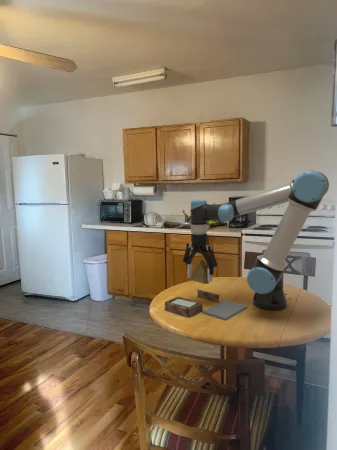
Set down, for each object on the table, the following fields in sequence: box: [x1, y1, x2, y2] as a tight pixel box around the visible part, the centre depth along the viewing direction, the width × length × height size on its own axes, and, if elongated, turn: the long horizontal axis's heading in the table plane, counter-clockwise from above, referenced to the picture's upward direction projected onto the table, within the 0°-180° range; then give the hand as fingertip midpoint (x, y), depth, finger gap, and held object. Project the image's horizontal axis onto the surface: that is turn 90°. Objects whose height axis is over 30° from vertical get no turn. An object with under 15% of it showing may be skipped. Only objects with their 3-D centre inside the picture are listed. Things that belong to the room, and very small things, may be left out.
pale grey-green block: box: [171, 299, 197, 309], centre depth 152 cm, size 10×6×4 cm, turn 54°
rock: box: [190, 259, 210, 285], centre depth 159 cm, size 11×9×10 cm
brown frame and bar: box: [164, 289, 220, 318], centre depth 157 cm, size 14×25×4 cm, turn 138°
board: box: [201, 299, 248, 321], centre depth 151 cm, size 12×18×1 cm, turn 138°
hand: (199, 279), depth 159 cm, fingers closed on rock, 11 cm apart
